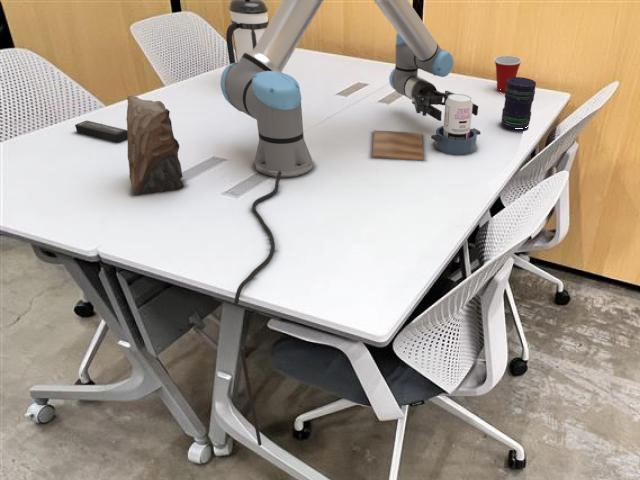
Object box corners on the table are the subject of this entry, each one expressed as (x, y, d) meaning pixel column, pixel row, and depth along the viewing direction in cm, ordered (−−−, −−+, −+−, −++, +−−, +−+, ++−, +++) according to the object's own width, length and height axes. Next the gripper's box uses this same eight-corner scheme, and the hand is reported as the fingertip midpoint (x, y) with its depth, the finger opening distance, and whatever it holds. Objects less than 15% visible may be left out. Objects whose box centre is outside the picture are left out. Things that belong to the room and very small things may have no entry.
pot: (488, 150, 183) (489, 135, 180) (444, 158, 175) (445, 143, 172) (465, 135, 191) (466, 122, 188) (422, 143, 183) (423, 129, 180)
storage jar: (531, 124, 204) (538, 80, 195) (526, 133, 197) (534, 88, 188) (503, 119, 206) (509, 75, 196) (497, 128, 199) (504, 82, 189)
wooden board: (423, 160, 173) (423, 157, 172) (372, 157, 171) (372, 155, 170) (420, 135, 188) (421, 132, 187) (374, 132, 186) (374, 130, 186)
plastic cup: (485, 87, 234) (489, 55, 226) (508, 85, 238) (513, 54, 230) (498, 95, 227) (502, 63, 219) (522, 94, 231) (527, 62, 223)
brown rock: (138, 173, 151) (117, 93, 138) (191, 172, 154) (174, 94, 141) (131, 195, 141) (107, 112, 129) (187, 193, 145) (169, 112, 132)
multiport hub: (118, 142, 164) (115, 134, 162) (76, 132, 167) (74, 124, 165) (129, 137, 167) (127, 129, 166) (88, 128, 170) (86, 120, 169)
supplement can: (453, 139, 187) (457, 91, 178) (473, 147, 184) (478, 98, 174) (436, 145, 182) (440, 96, 173) (457, 154, 179) (461, 104, 169)
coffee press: (232, 77, 217) (218, -16, 198) (276, 77, 221) (267, -14, 202) (233, 92, 204) (219, -6, 185) (280, 91, 209) (271, -4, 190)
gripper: (451, 99, 197) (489, 120, 185) (387, 108, 185) (423, 131, 173) (453, 76, 193) (492, 96, 180) (388, 83, 181) (425, 105, 168)
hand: (459, 113), depth 176 cm, fingers open, 13 cm apart
